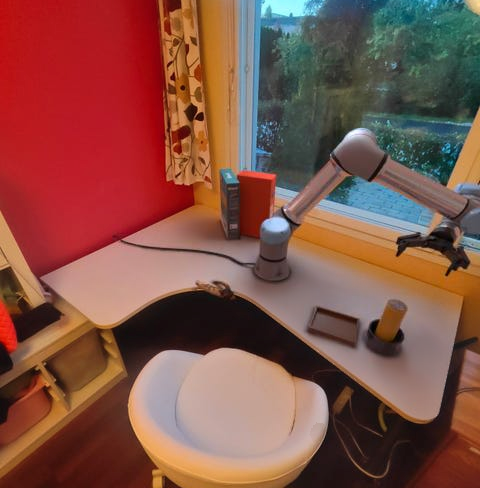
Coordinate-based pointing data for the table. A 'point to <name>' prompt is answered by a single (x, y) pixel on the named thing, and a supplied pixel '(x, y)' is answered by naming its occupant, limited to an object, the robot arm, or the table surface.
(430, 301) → the table surface
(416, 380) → the table surface
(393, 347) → the bowl
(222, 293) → the bone fish hook
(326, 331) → the tray
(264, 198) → the file binder
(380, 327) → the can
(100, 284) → the table surface
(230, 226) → the cake mix box
